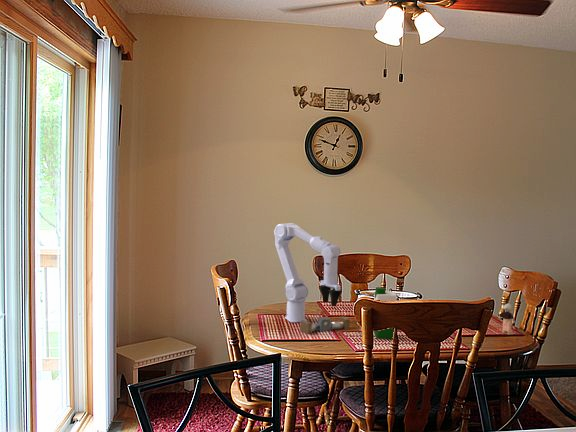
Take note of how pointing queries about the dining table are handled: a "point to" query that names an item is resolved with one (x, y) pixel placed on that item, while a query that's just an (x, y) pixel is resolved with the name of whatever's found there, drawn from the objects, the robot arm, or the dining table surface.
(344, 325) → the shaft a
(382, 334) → the milk carton
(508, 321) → the grandmother figurine
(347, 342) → the dining table surface
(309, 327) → the brown lumpy block
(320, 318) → the coupler
